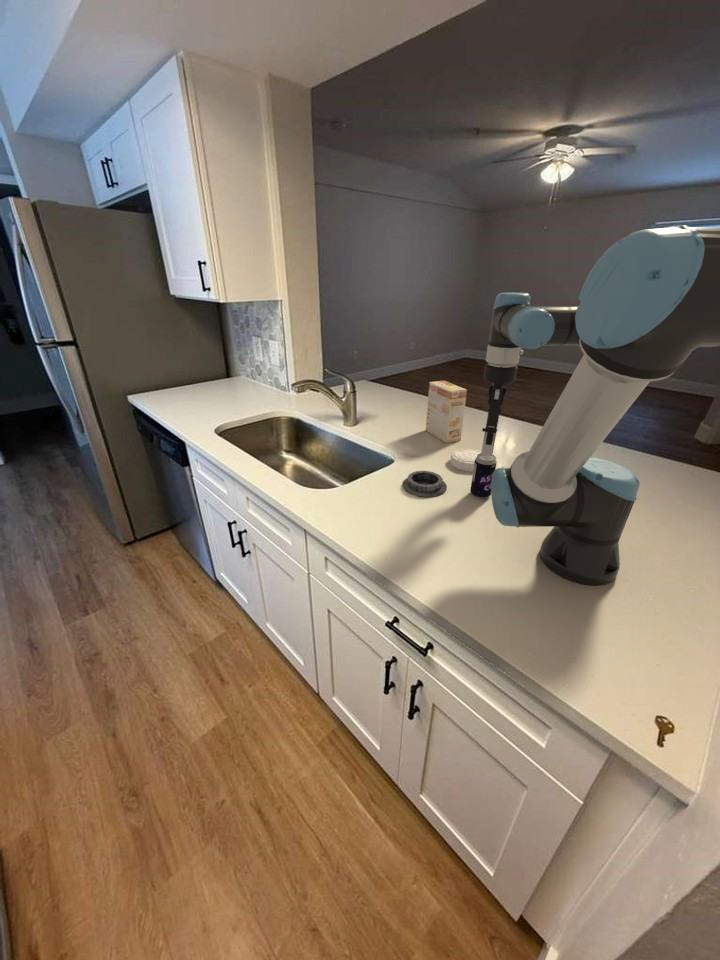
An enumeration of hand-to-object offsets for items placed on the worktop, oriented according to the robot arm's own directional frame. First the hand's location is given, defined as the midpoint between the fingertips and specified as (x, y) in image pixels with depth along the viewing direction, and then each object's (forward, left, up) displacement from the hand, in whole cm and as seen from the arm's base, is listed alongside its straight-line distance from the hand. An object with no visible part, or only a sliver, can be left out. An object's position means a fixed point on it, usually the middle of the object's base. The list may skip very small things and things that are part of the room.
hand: (488, 445), depth 104 cm
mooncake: (+20, +5, -16) cm, 26 cm away
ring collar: (0, +16, -15) cm, 22 cm away
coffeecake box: (+43, +17, -16) cm, 49 cm away
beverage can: (0, 0, -16) cm, 16 cm away
